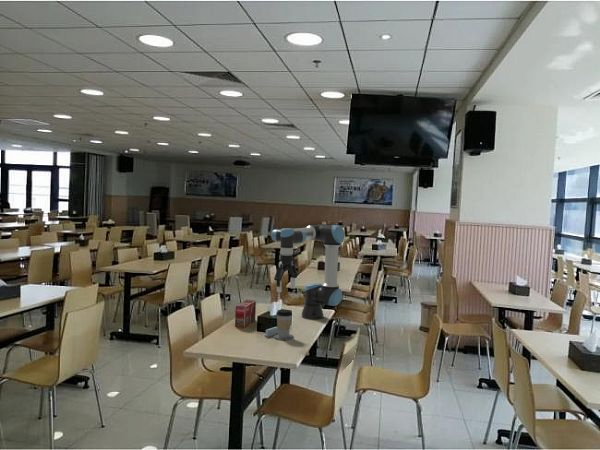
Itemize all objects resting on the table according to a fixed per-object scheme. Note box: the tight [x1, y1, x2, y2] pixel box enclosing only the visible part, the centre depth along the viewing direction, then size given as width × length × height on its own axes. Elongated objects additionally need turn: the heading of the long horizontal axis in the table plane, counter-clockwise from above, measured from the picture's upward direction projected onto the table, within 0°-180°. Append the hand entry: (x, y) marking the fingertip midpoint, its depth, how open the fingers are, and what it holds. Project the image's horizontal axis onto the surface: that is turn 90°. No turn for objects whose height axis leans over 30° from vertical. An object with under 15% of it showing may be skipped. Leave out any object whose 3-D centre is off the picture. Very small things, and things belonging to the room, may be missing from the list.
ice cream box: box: [234, 299, 257, 329], centre depth 302 cm, size 20×6×13 cm, turn 166°
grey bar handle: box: [263, 326, 278, 338], centre depth 281 cm, size 16×3×4 cm, turn 145°
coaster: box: [272, 333, 294, 341], centre depth 274 cm, size 12×12×1 cm
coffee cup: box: [275, 309, 293, 338], centre depth 274 cm, size 9×9×15 cm
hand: (285, 290), depth 278 cm, fingers open, 13 cm apart
